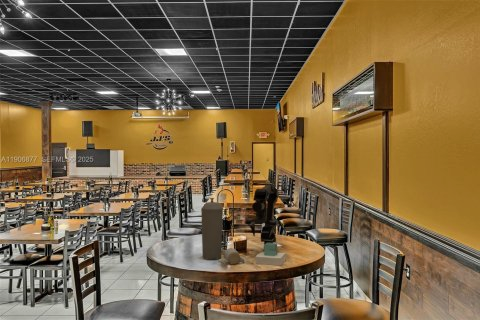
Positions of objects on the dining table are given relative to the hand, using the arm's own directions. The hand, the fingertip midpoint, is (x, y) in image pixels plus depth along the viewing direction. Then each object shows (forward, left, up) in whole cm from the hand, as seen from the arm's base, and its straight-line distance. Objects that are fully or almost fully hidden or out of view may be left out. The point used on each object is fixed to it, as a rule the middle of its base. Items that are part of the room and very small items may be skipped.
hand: (261, 236), depth 253 cm
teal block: (+10, +8, -8) cm, 15 cm away
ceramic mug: (+18, -11, -12) cm, 24 cm away
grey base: (+10, +8, -12) cm, 18 cm away
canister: (+11, -27, -12) cm, 32 cm away
